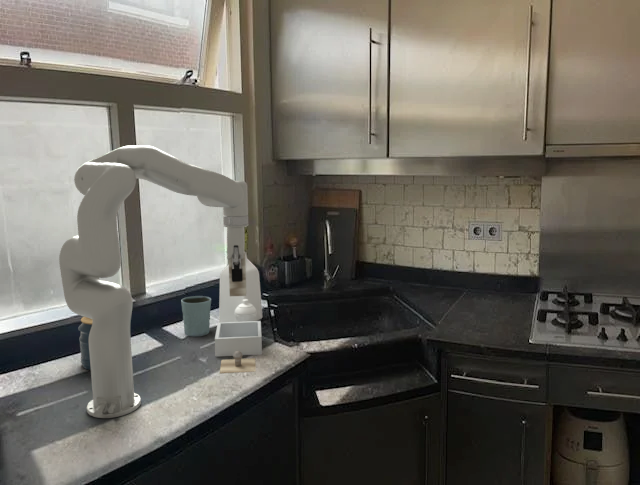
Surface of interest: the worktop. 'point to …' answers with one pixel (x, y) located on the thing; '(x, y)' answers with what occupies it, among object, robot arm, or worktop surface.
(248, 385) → the worktop surface
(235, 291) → the strut
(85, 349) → the canister
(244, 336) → the bin
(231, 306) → the milk
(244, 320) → the spinning top
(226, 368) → the square lid with knob
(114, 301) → the robot arm
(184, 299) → the teal cup
